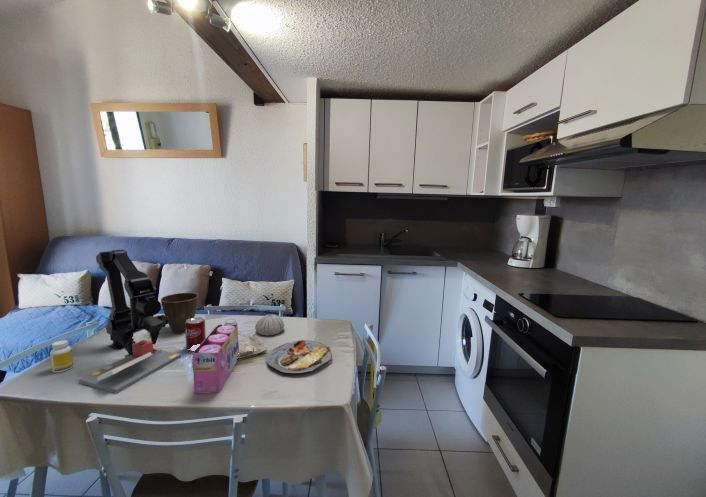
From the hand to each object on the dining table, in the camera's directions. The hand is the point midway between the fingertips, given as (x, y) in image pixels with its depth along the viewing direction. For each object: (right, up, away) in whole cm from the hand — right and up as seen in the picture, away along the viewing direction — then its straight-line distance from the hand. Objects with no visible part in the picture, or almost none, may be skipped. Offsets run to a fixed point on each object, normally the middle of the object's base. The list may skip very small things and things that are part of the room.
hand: (142, 349), depth 114 cm
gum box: (+32, -6, -8) cm, 34 cm away
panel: (+2, -5, -7) cm, 8 cm away
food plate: (+59, -5, +4) cm, 59 cm away
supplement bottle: (-23, -4, -8) cm, 24 cm away
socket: (0, -2, 0) cm, 3 cm away
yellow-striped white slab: (+3, -1, -13) cm, 13 cm away
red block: (0, -3, 0) cm, 3 cm away
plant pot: (-1, 0, +27) cm, 27 cm away
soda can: (+15, -3, +10) cm, 18 cm away
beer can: (+30, -3, +10) cm, 31 cm away
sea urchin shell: (+40, -1, +29) cm, 49 cm away
